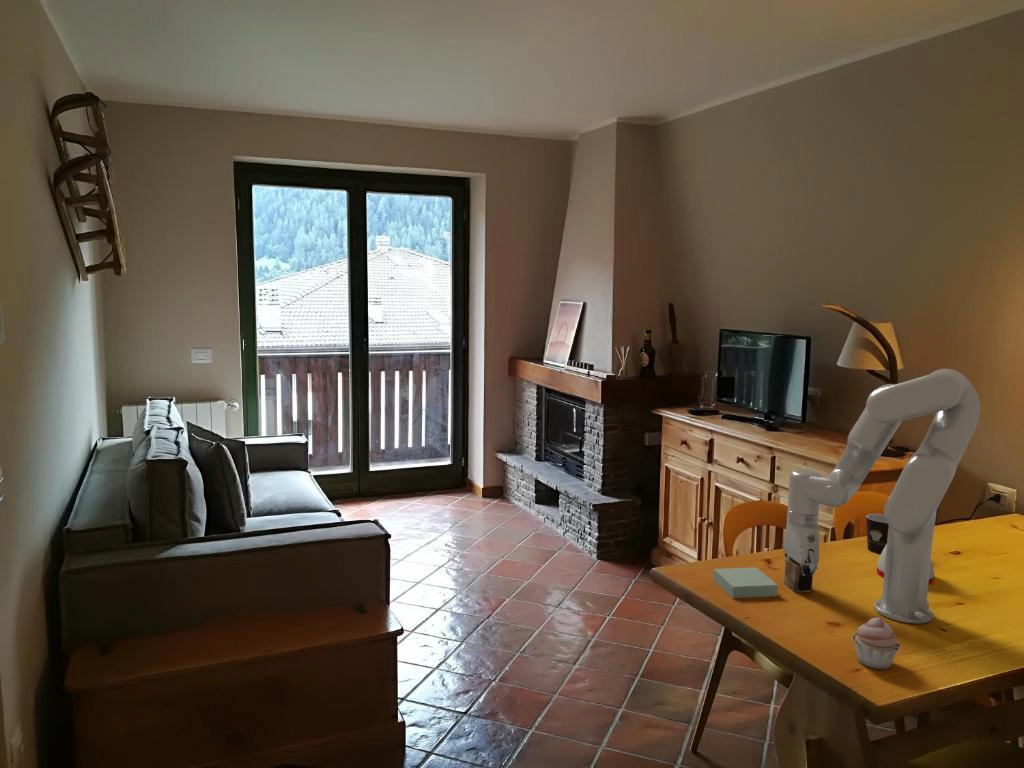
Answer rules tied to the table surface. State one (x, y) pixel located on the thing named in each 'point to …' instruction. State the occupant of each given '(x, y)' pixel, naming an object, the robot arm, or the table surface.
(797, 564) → the walnut block
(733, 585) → the plate
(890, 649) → the cupcake
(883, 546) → the coffee mug
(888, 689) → the table surface
